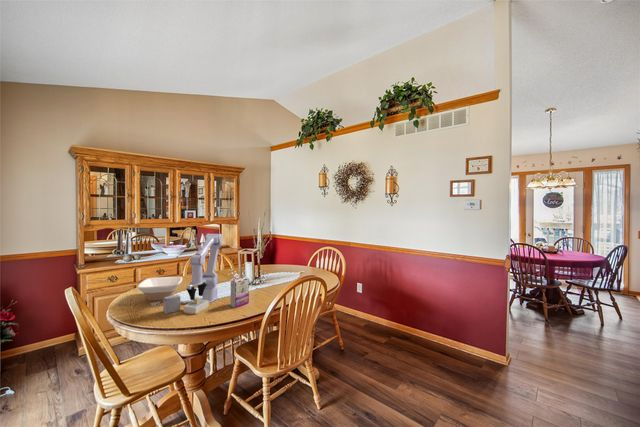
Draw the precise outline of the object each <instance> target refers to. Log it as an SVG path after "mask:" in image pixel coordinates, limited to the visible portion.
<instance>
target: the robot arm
mask: <svg viewBox="0 0 640 427" xmlns="http://www.w3.org/2000/svg"><path fill="white" fill-rule="evenodd" d="M223 237H224V236H223V235H222V233H207V234H205V238H204V239H205V241H204V243H203V245H202V246H200V247H199V248H198V250H197V251H196V253H195V254H193V255H192V256H191V257H190V260H189V263H190V268H191V282H190V283H189V284H188V285H186V291H187V293H188V295H189V299H190V301H194V299H195V298H196V293H197V290H198V296H199V297H202V299H201V300H208V301H209V304H210V303H213V302H214V301H216V300H218V299H219V297H218V287H217V286H218V283H219V281H218V279H219V276H218V274H217V273H216V272H215V270H216V265H217V260H218V256H219V255H218V254H219V249H220V248H221V247H222V244H223V239H224V238H223ZM209 249H210V252H209ZM208 254H209V257H208V263H207V267H206V271H205V272H203V265H204V264H205V262H206V261H205V260H206V256H207V255H208ZM195 287H197V288H195Z"/></svg>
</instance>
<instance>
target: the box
mask: <svg viewBox="0 0 640 427" xmlns="http://www.w3.org/2000/svg"><path fill="white" fill-rule="evenodd" d="M201 300H202V299H201ZM202 301H206V302H204V303H202V304H200V305H198V306H197V307H191V306H187V305H189V304H191V303H193V302H194V300H192V301H191V302H188V303H187V304H185V305H184V306H183V314H188V315H189V314H190V315H197V314H200V313H202V312H203V311H204V310H206V309H207V308H209V304H210V303H209V301H208V300H202Z"/></svg>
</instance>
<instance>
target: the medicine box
mask: <svg viewBox="0 0 640 427" xmlns="http://www.w3.org/2000/svg"><path fill="white" fill-rule="evenodd" d="M162 301H163V302H162V303H163V304H162V307H163V309H162V310H163V313H164V314H166V315H167V314H172V313H175V312H179V311H181V296H180V295H178V294H173V295H172V296H169V297H165V298H163V300H162Z"/></svg>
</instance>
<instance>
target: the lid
mask: <svg viewBox="0 0 640 427" xmlns="http://www.w3.org/2000/svg"><path fill="white" fill-rule="evenodd" d="M193 301H194V302H193ZM193 301H192V302H193V303H191V302H190V303H191V304H189V303H188V304H189V305H187V304H186V305H187V306H191V307H197V306H198V305H200V304H202V303H204V302H206V301H202V299H201V298H200V297H196V296H195V299H194V300H193Z"/></svg>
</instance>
